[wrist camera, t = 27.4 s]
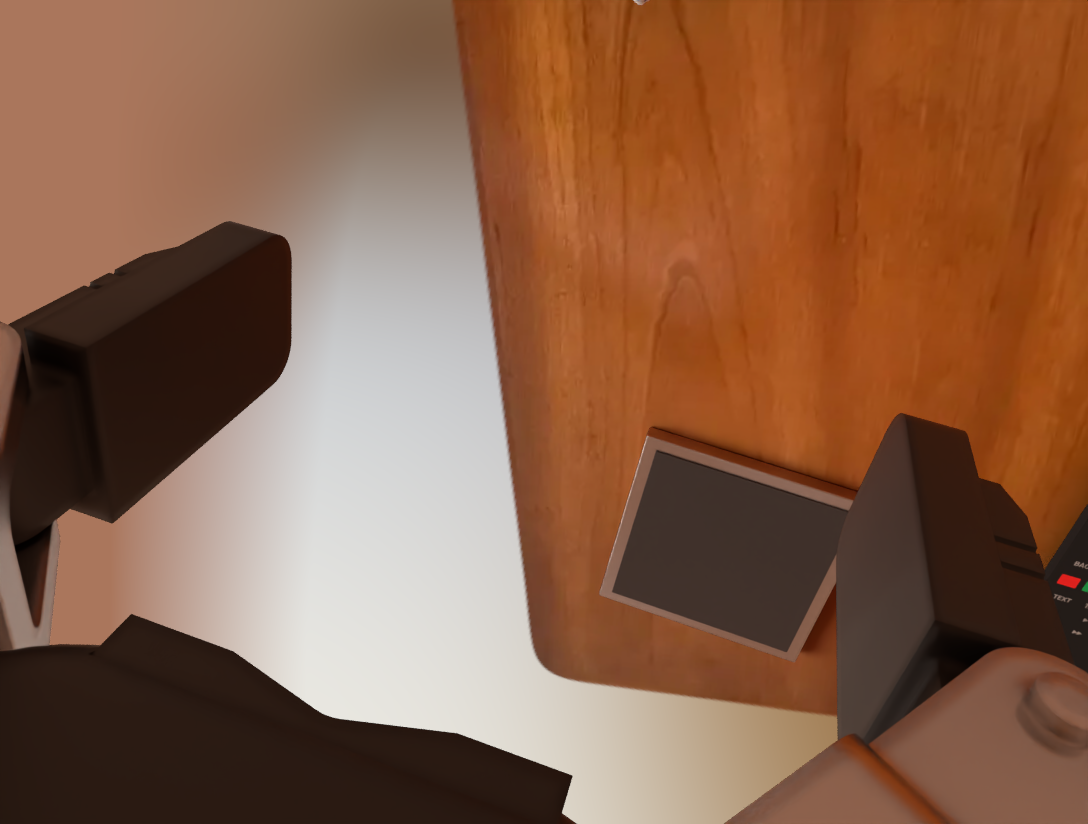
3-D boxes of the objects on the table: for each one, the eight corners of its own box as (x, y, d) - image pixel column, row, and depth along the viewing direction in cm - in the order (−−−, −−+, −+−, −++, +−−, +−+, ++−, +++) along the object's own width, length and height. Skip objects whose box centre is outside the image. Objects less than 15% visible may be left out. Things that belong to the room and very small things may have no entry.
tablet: (602, 584, 52) (597, 596, 51) (649, 426, 45) (646, 436, 45) (795, 650, 50) (794, 664, 49) (874, 496, 44) (875, 508, 43)
